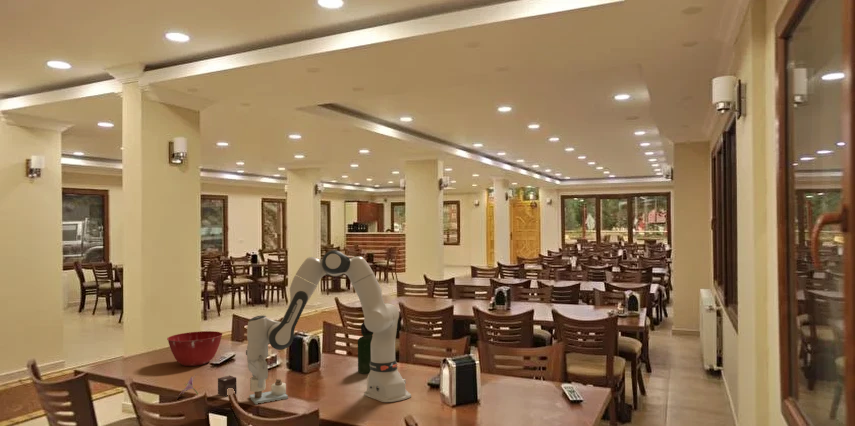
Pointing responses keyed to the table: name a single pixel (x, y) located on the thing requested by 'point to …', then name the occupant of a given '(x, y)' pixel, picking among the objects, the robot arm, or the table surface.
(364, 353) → the spray bottle
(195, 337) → the mixing bowl
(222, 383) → the box
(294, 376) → the table surface
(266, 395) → the stand
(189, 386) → the lily
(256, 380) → the ring
